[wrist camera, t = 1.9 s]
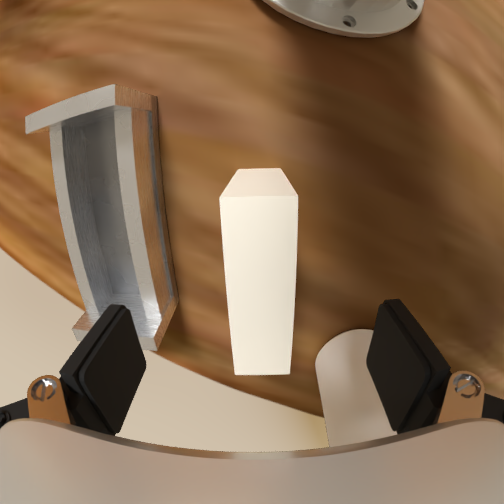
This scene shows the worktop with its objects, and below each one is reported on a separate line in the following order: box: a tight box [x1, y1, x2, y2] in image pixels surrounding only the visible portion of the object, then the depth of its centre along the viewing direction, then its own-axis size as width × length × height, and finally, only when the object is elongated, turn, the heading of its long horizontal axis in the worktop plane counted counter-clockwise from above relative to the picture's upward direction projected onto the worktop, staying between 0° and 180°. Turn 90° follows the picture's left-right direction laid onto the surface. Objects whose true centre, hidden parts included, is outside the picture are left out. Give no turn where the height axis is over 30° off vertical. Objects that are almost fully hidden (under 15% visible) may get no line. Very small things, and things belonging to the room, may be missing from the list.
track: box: [25, 84, 179, 351], centre depth 15 cm, size 14×6×6 cm, turn 2°
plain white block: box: [220, 168, 298, 375], centre depth 14 cm, size 8×3×8 cm, turn 2°
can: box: [315, 329, 397, 447], centre depth 16 cm, size 6×6×12 cm
